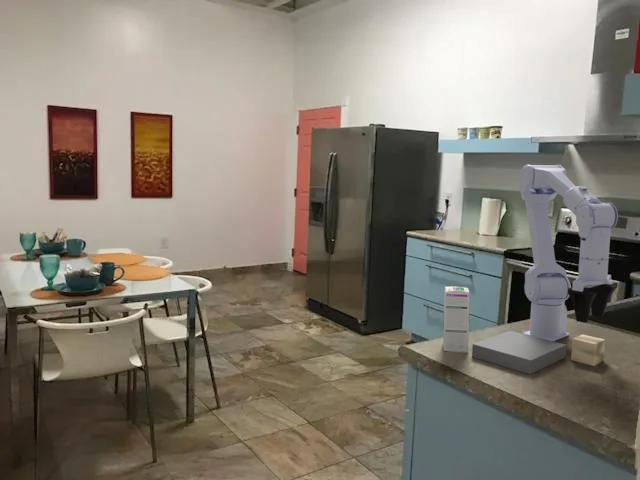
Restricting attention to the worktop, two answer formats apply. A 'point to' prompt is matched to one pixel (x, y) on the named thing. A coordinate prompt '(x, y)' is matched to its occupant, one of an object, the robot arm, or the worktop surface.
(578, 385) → the worktop surface
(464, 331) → the syrup box
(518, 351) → the plate
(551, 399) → the worktop surface
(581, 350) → the birch block
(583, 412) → the worktop surface
